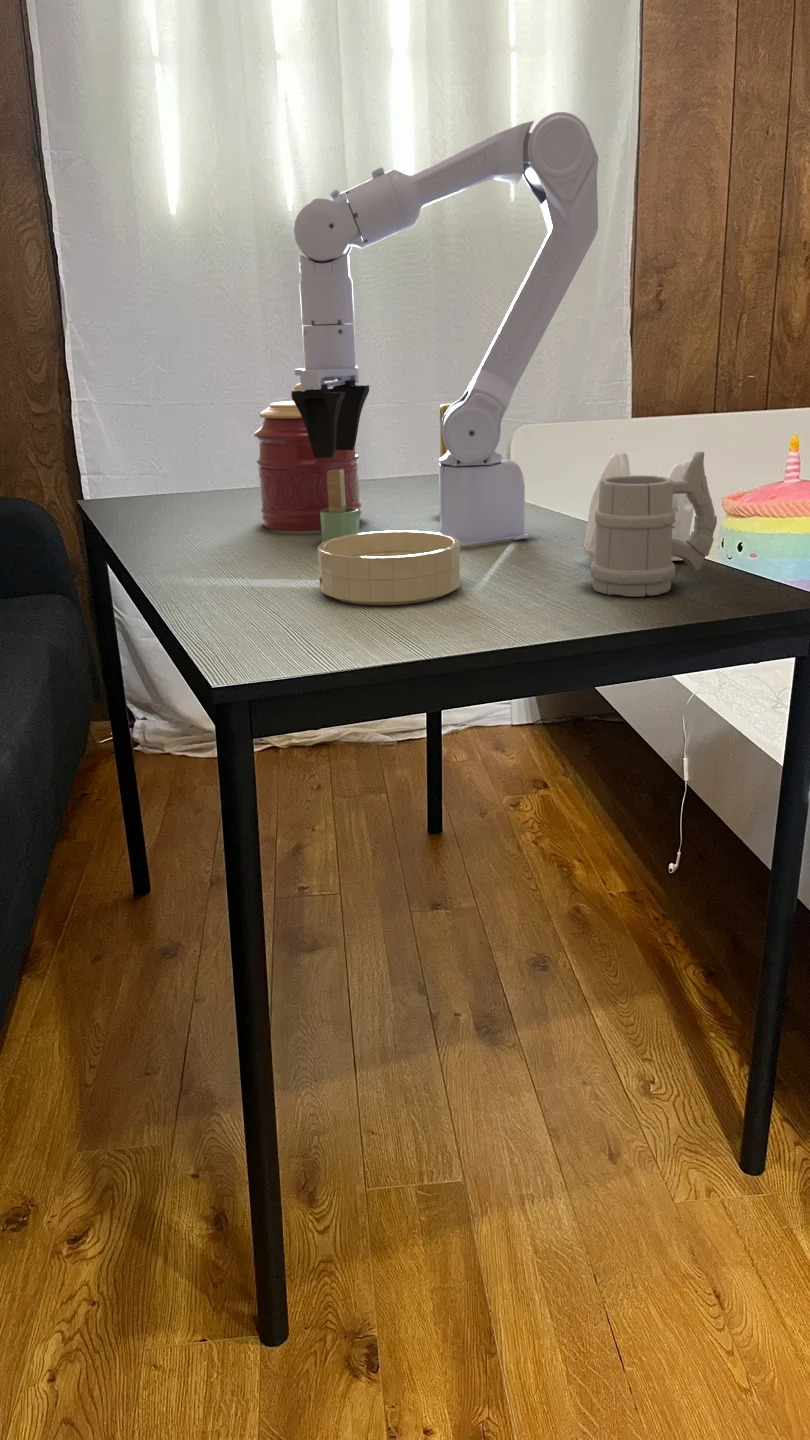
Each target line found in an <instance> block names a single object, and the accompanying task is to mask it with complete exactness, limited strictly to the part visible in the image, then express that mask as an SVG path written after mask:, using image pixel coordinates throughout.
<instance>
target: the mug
mask: <svg viewBox="0 0 810 1440" xmlns="http://www.w3.org/2000/svg"><path fill="white" fill-rule="evenodd" d="M704 460H705V452H704V451H695V452H694V453H693V454H692V458H691V460H690V461H689V462H688V464H687V466H686V468H685V471H684V474H683V477H682V480H680V481H672V479H670V478H667V477H668V476H667V477H666V476H657V475H643V474H641V475H637V474H634V475H631V474H630V476H617V477H608V478H604V479H602V480H601V481H600V492H599V506H598V510H597V511H596V512H595V522H596V524H597V534H596V549H595V561H593V562H591V564H590V568H589V574H590V577H591V578H592V587H593V590H594V591H596V592H598V593H600V594H603V595H608V596H618V597H619V596H620V597H627V598H628V597H631V598H642V597H643V598H644V597H651V596H652V597H653V596H658V595H662V594H665V593H668V592H669V591H671V589H672V588H671V587H672V580H673V579H674V577H675V575H676V565H675V563H674V562H673V561H671V556H676V557H679V558H681V559H683V560H682V561H683V562H684V563H685V564H686V565H687V566H688V568H689V569H691V570H694V571H700V570H701V567H702V565H703V563H704V560H705V559H706V557H709V554H710V552H711V549H712V548H713V547H712V546H713V543H714V539H715V537H714V534H715V533H714V532H715V530H716V527H717V524H718V516H717V515H716V514H715V513H716V511H715V508H714V503H713V501H712V497H711V493H710V490H709V486H708V481H707V475H706V473H705V465H704V464H705V462H704ZM682 493H686V496H687V497H688V499H689V501H690V503H691V504H692V505H693V507H694V514H695V516H694V523H693V531H690V534H689V538H688V539H687V540H686V542H682V541H679V540H677V539H674V538H672V524H673V523H674V522H675V511H674V510H673V509H672V499H673V494H682Z"/></svg>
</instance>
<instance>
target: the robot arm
mask: <svg viewBox="0 0 810 1440" xmlns="http://www.w3.org/2000/svg"><path fill="white" fill-rule="evenodd" d="M534 123H535V121H534V120H530V121H527V122H523V123H519V124H516V125H515V126H512V127H510V128H507V129H505V130H502V131H500V132H497V133H495V134H493V135H491V136H489V137H487V138H485V139H483V140H481V141H479V142H477V143H475V144H473V145H471V146H469V147H467V148H464V149H463V150H461V151H459V152H456V153H455V154H452V155H451V156H448V157H447V158H445V159H442V160H441V161H439V162H437V163H434V164H433V165H431V166H429V167H427V168H424V169H422V170H420V171H418V172H416V173H414V174H412V175H411V174H408V173H406V172H403V171H402V170H399V169H397V168H392V169H390V170H388V171H385V169H384V167H383V166H382V167H378V168H376V169H374V170H372V171H371V176H372V178H371V179H369V180H366V181H364V182H361V183H360V184H357V185H355V186H353V187H351V188H348V189H346V190H344V191H342V192H340V190H339V188H337V189H334V190H332V191H330V192H329V196H330V199H329V198H322V197H317V198H313V199H312V200H311V201H310V202H309V203H307V204H306V205H305V206H303V207H302V208H301V210H300V211H299V212H298V213H297V215H296V217H295V220H294V225H293V235H294V240H295V243H296V245H297V247H298V249H299V250H300V252H301V253H302V254H303V255H302V254H300V255H299V263H298V267H299V273H300V279H299V294H300V295H299V298H300V314H301V315H300V317H301V329H302V346H303V347H302V348H303V362H304V368H295V369H294V375H295V376H299V377H300V378H299V380H300V383H301V390H295V391H293V390H291V392H290V393H291V394H290V395H291V401H294V403H295V405H296V406H297V408H298V410H299V412H300V414H301V416H302V418H303V421H304V423H305V426H306V429H307V433H308V436H309V440H310V444H311V447H312V451H313V454H314V457H315V458H332V457H334V454H335V448H336V450H354V448H355V449H356V444H357V439H358V438H357V437H358V432H357V431H359V425H360V419H361V414H362V411H363V407H364V404H365V402H366V399H367V397H368V395H369V393H370V385H369V384H359V383H360V378H359V377H360V376H359V375H360V374H359V365H357V352H356V330H355V329H356V327H355V306H354V283H353V279H352V277H351V267H350V265H351V264H350V255H349V254H350V253H351V251H352V248H353V247H356V248H359V249H360V250H362V249H365V248H366V247H369V246H371V245H373V244H376V243H378V242H380V241H382V240H385V239H387V238H389V237H392V236H393V235H396V234H399V233H400V232H403V231H405V230H407V229H409V228H412V227H414V226H416V224H417V222H418V219H419V216H420V214H421V211H422V209H423V208H424V207H426V206H429V205H432V204H433V203H436V202H438V201H439V202H440V201H441V200H443V199H446V198H448V197H449V198H450V197H451V196H453V195H456V194H459V193H461V192H463V191H465V190H468V189H470V188H473V187H476V186H478V185H481V184H484V183H485V182H488V181H492V180H495V181H500V182H502V183H503V182H504V183H508V184H512V185H517V186H518V184H519V182H520V181H521V179H522V178H523V179H524V182H525V183H526V185H527V186H528V187H529V189H530V191H531V192H532V193H533V195H534V196H535V197H536V199H537V200H538V202H539V203H540V208H541V211H542V214H543V218H544V221H545V224H546V228H547V235H546V236H545V238H544V240H543V242H542V244H541V246H540V248H539V250H538V252H537V254H536V256H535V258H534V259H533V261H532V264H531V266H530V267H529V270H528V272H527V273H526V276H525V277H524V280H523V282H522V283H521V285H520V287H519V289H518V291H517V293H516V294H515V297H514V298H513V301H512V303H511V304H510V307H509V309H508V311H507V313H506V314H505V316H504V318H503V320H502V322H501V324H500V326H499V328H498V330H497V331H496V334H495V336H494V338H493V339H492V341H491V344H490V346H489V347H488V350H487V351H486V353H485V355H484V357H483V359H482V361H481V363H480V365H479V367H478V369H477V370H476V372H475V374H474V376H473V377H472V379H471V380H470V382H469V384H468V385H467V388H466V390H465V391H464V393H463V395H462V396H461V397H460V398H459V399H457V400H456V401H454V402H453V403H451V404H452V405H451V406H450V407H449V408H448V409H447V411H446V412H445V414H444V416H443V420H442V434H443V441H444V444H445V446H446V448H447V452H446V454H445V455H444V456H443V457H441V458H440V457H439V458H438V481H439V482H438V484H439V485H438V486H439V527H440V528H439V529H440V530H439V531H440V532H439V533H442V534H446V535H450V536H454V537H455V538H457V539H458V540H460V547H461V546H462V547H463V546H472V545H479V544H484V543H491V542H498V541H504V540H511V539H512V541H519V540H524V539H529V534H528V533H525V510H526V509H525V508H526V507H525V497H526V495H525V493H526V492H525V491H526V490H525V487H526V486H525V479H524V474H523V472H522V469H521V467H520V466H519V464H518V463H516V461H513V460H511V459H503V455H502V454H501V453H498V452H497V451H495V450H496V449H497V447H498V446H499V443H500V440H501V435H502V434H501V433H502V432H501V430H502V429H501V428H502V426H501V425H502V421H503V418H504V415H506V411H507V410H508V408H509V406H510V403H511V400H512V398H513V394H514V391H516V387H517V385H518V383H519V382H520V380H521V378H522V376H523V374H524V372H525V371H526V368H527V366H528V365H529V363H530V361H531V359H532V357H533V355H534V353H535V352H536V349H537V348H538V346H539V344H540V342H541V340H542V338H543V336H544V334H545V333H546V331H547V329H548V327H549V325H550V324H551V322H552V319H553V318H554V316H555V314H556V312H557V310H558V308H559V306H560V304H561V303H562V301H563V298H564V297H565V295H566V293H567V291H568V290H569V287H570V285H571V284H572V282H573V280H574V278H575V276H576V274H577V272H578V270H579V268H580V266H581V264H582V263H583V261H584V259H585V257H586V255H587V253H588V251H589V250H590V248H591V246H592V244H593V242H594V240H595V238H596V236H597V233H598V230H599V205H598V204H599V203H598V200H599V199H598V169H599V168H598V167H599V155H598V152H597V150H596V147H595V144H594V141H593V138H592V136H591V133H590V130H589V129H588V127H587V125H586V124H585V122H584V121H583V120H582V119H581V118H579V117H578V115H575V114H573V113H570V112H566V111H557V112H553V113H550V114H548V115H547V116H544V117H543V118H542V119H540V120H539V121H538V122H537V124H535V126H534V128H533V129H532V127H533V125H534ZM531 129H532V131H531ZM530 131H531V132H530Z"/></svg>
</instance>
